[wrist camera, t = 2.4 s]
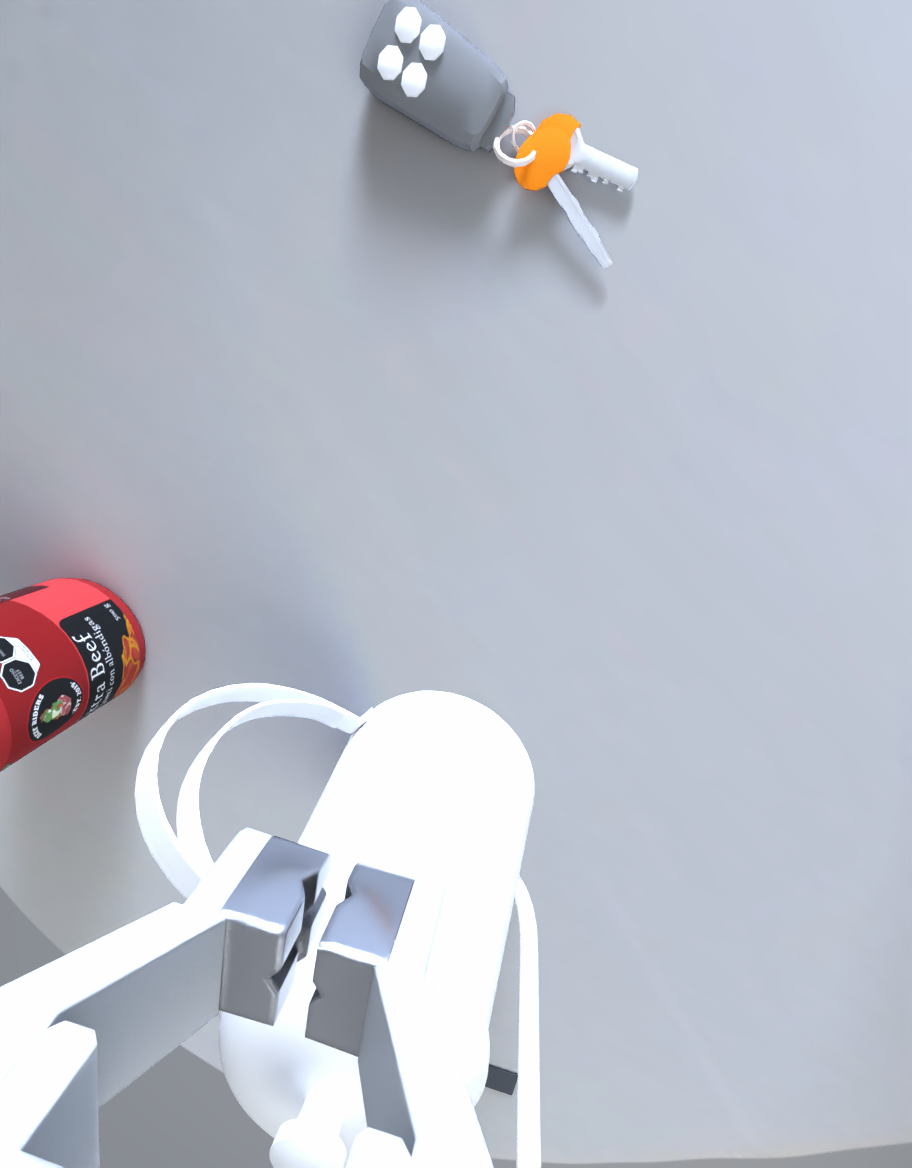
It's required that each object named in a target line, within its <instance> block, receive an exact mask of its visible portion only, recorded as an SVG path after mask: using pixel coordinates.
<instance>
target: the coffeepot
mask: <svg viewBox="0 0 912 1168" xmlns="http://www.w3.org/2000/svg"><path fill="white" fill-rule="evenodd" d="M234 701H254V702H262V703H259V704H257V705H254V706H252V707H249V708H248V709H246V710H244V711H243V712H241V713H239V714H238V715H236V716H235V717H234V718H233V719H231V720H230V721H229V722H228V723H227V724H226V725H225V726H224V727H223V728H222V729H221V730H220V731H219V732H218V733H217V734H216V735H215V736H214V737H213V738H212V739H211V740H210V741H209V742H208V743H207V745H206V746H205V747H204V748H203V749H202V750H201V752H200V753H199V754H198V755H197V757H196V759H195V760H194V762H193V763H192V765H191V767H190V768H189V770H188V772H187V774H186V777H185V779H184V782H183V784H182V786H181V790H180V794H179V799H178V804H177V821H176V824H177V835H178V840H177V838H176V837H175V835H174V833H173V831H172V829H171V827H170V825H169V823H168V821H167V819H166V817H165V814H164V810H163V807H162V804H161V801H160V798H159V790H158V782H157V766H158V757H159V751H160V748H161V746H162V743H163V740H164V738H165V735H166V732H167V731H168V730H169V728H170V727H171V725H173V724H174V723H175V722H176V721H178V720H179V719H180V718H182V717H184V716H186V715H188V714H190V713H192V712H194V711H196V710H198V709H201V708H204V707H208V706H211V705H215V704H219V703H227V702H234ZM271 716H292V717H303V718H309V719H314V720H317V721H319V722H321V723H323V724H325V725H327V726H329V727H331V728H333V729H334V728H335V727H336V728H338V729H340V730H342V731H344V732H346V733H352V735H351V737H350V739H349V741H348V743H347V745H346V747H345V749H344V751H343V753H342V755H341V757H340V759H339V761H338V763H337V765H336V767H335V769H334V771H333V773H332V775H331V777H330V779H329V781H328V783H327V785H326V787H325V789H324V791H323V793H322V795H321V797H320V799H319V801H318V803H317V805H316V807H315V809H314V811H313V813H312V815H311V817H310V819H309V821H308V823H307V825H306V827H305V829H304V831H303V833H302V835H301V837H300V839H299V841H298V844H301V845H304V846H307V847H310V848H313V849H317V850H320V851H323V852H326V853H329V854H330V855H331V856H332V858H331V867H330V873H329V875H328V877H327V879H326V881H325V883H324V885H323V887H324V889H325V891H326V893H327V896H326V902H325V907H324V911H323V915H322V919H321V922H320V925H319V928H318V931H317V933H316V936H315V939H314V941H313V943H312V946H311V948H310V950H309V952H308V954H307V957H305V958H304V959H302V960H301V961H299V962H297V964H296V972H295V979H294V984H293V986H292V988H291V990H290V993H289V995H288V997H287V999H286V1001H285V1003H284V1005H283V1007H282V1009H281V1011H280V1013H279V1015H278V1018H277V1020H276V1022H275V1024H274V1026H270V1025H267V1024H263V1023H260V1022H257V1021H253V1020H250V1019H247V1018H243V1017H240V1016H237V1015H233V1014H230V1013H227V1012H223V1011H220V1010H219V1017H220V1030H219V1050H220V1059H221V1064H222V1068H223V1071H224V1074H225V1077H226V1079H227V1081H228V1084H229V1086H230V1088H231V1090H232V1092H233V1094H234V1095H235V1097H236V1099H237V1100H238V1102H239V1103H240V1105H241V1106H242V1108H243V1109H244V1110H245V1111H246V1113H247V1114H248V1115H249V1116H250V1117H251V1118H252V1119H253V1120H254V1121H255V1122H256V1123H257V1124H258V1125H259V1126H260V1127H261V1128H262V1129H263V1130H264V1131H266V1132H267V1133H268V1134H269V1135H271V1136H272V1137H273V1138H275V1139H274V1142H273V1144H272V1147H271V1149H270V1154H269V1155H270V1161H271V1163H272V1165H273V1167H274V1168H346V1164H347V1161H348V1158H349V1154H350V1151H351V1148H352V1144H353V1141H354V1138H355V1136H356V1135H358V1134H359V1133H360V1132H362V1131H363V1130H365V1129H366V1128H367V1123H366V1116H365V1109H364V1102H363V1095H362V1088H361V1082H360V1075H359V1068H358V1061H357V1060H358V1057H356V1056H354V1055H351V1054H348V1053H346V1052H343V1051H340V1050H338V1049H335V1048H332V1047H330V1046H327V1045H324V1044H322V1043H319V1042H316V1041H314V1040H311V1039H308V1038H306V1037H305V1031H306V1023H307V1015H308V1007H309V1003H310V1001H311V998H312V996H313V994H314V991H315V989H316V986H315V985H314V983H313V981H312V979H313V973H314V966H315V960H316V954H317V947H318V944H319V941H320V939H321V937H322V935H323V933H324V930H325V928H326V926H327V924H328V922H329V919H330V917H331V915H332V913H333V911H334V908H335V906H336V905H337V904H339V903H340V902H342V901H344V898H345V892H346V886H347V880H348V878H349V876H350V874H351V872H352V870H353V868H354V866H355V865H356V864H357V863H358V862H361V863H365V864H368V865H372V866H375V867H379V868H382V869H386V870H389V871H393V872H396V873H400V874H403V875H407V876H410V877H414V878H417V879H421V880H424V881H428V882H431V883H435V884H438V885H442V886H445V887H446V891H445V896H444V900H443V905H442V909H441V913H440V918H439V922H438V926H437V931H436V935H435V939H434V944H433V948H432V952H431V957H430V961H429V965H428V969H427V974H426V978H425V982H428V983H430V984H433V986H434V989H435V992H436V995H437V998H438V1001H439V1004H440V1007H441V1010H442V1013H443V1016H444V1019H445V1022H446V1025H447V1029H448V1032H449V1035H450V1038H451V1041H452V1044H453V1047H454V1050H455V1053H456V1056H457V1059H458V1062H459V1065H460V1068H461V1071H462V1074H463V1077H464V1080H465V1083H466V1086H467V1089H468V1092H469V1095H470V1098H471V1101H472V1104H473V1107H474V1106H475V1105H476V1104H477V1102H478V1100H479V1099H480V1097H481V1094H482V1092H483V1090H484V1087H485V1084H486V1080H487V1076H488V1065H489V1058H490V1040H489V1033H488V1028H489V1023H490V1018H491V1013H492V1008H493V1003H494V998H495V993H496V988H497V983H498V978H499V973H500V968H501V963H502V958H503V953H504V948H505V943H506V938H507V933H508V928H509V923H510V918H511V913H512V908H513V903H514V902H515V905H516V908H517V912H518V918H519V925H520V989H519V1042H518V1095H517V1168H541V1144H540V1076H539V992H538V940H537V926H536V919H535V913H534V909H533V905H532V902H531V899H530V896H529V893H528V891H527V889H526V887H525V885H524V883H523V881H522V879H521V878H520V876H519V873H520V868H521V863H522V858H523V853H524V848H525V843H526V838H527V833H528V828H529V823H530V818H531V813H532V808H533V802H534V792H535V785H534V775H533V769H532V765H531V762H530V759H529V756H528V754H527V752H526V750H525V748H524V746H523V744H522V743H521V741H520V739H519V738H518V736H517V735H516V734H515V732H514V731H513V730H512V729H511V727H510V726H509V725H508V724H507V723H506V722H505V721H504V720H503V719H502V718H500V717H499V716H498V715H497V714H495V713H494V712H493V711H491V710H490V709H488V708H487V707H485V706H483V705H482V704H480V703H478V702H476V701H474V700H471V699H469V698H466V697H463V696H460V695H457V694H452V693H447V692H440V691H418V692H411V693H407V694H403V695H400V696H397V697H394V698H392V699H389V700H387V701H385V702H383V703H382V704H380V705H378V706H377V707H376V708H374V709H372V708H370V709H369V710H368V711H367V712H366V713H365V714H364V715H362V716H361V717H358V716H356V715H354V714H352V713H351V712H349V711H347V710H345V709H343V708H341V707H339V706H337V705H335V704H333V703H331V702H329V701H327V700H325V699H323V698H320V697H318V696H315V695H312V694H310V693H307V692H303V691H300V690H296V689H292V688H288V687H284V686H279V685H272V684H263V683H245V684H235V685H229V686H225V687H221V688H217V689H213V690H210V691H208V692H206V693H204V694H202V695H199V696H197V697H195V698H193V699H192V700H190V701H189V702H188V703H186V704H185V705H184V706H182V707H181V708H180V709H179V710H177V711H176V712H175V713H174V714H173V715H172V716H171V717H170V718H169V719H168V721H167V722H166V723H165V724H164V725H163V726H162V727H161V728H160V729H159V731H158V732H157V733H156V735H155V736H154V738H153V739H152V740H151V742H150V743H149V744H148V746H147V747H146V749H145V752H144V754H143V757H142V759H141V762H140V764H139V767H138V770H137V777H136V785H135V803H136V814H137V818H138V822H139V825H140V829H141V832H142V836H143V838H144V840H145V842H146V844H147V846H148V848H149V850H150V852H151V854H152V856H153V858H154V860H155V861H156V863H157V864H158V865H159V867H160V868H161V870H162V871H163V873H164V874H165V875H166V877H167V878H168V879H169V881H170V882H171V883H172V884H173V885H174V886H175V888H176V889H177V890H178V891H179V892H180V893H181V895H182V896H184V897H185V898H186V899H187V898H188V897H189V896H190V894H191V893H192V892H193V890H194V889H195V888H196V887H197V885H198V884H199V883H200V881H201V880H202V879H203V878H204V876H205V875H206V874H207V872H208V871H209V870H210V869H211V867H212V866H213V865H214V863H213V861H212V859H211V857H210V854H209V851H208V849H207V846H206V843H205V840H204V836H203V832H202V828H201V823H200V814H199V786H200V780H201V775H202V771H203V768H204V766H205V763H206V761H207V758H208V756H209V754H210V753H211V751H212V749H213V748H214V746H215V744H216V742H217V741H218V740H219V739H220V737H221V736H222V735H223V734H224V733H226V732H227V731H229V730H231V729H232V728H234V727H235V726H237V725H239V724H242V723H244V722H246V721H249V720H252V719H257V718H261V717H271ZM415 880H416V879H415Z"/></svg>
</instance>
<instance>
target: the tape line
mask: <svg viewBox="0 0 912 1168" xmlns="http://www.w3.org/2000/svg"><path fill="white" fill-rule="evenodd" d="M517 1078H518V1075H517V1074H514V1073H511V1072H508V1071H505V1070H502V1069H499V1068H496V1067H493V1066H490V1065H488V1076H487V1080H486V1084H485V1087H488V1088H491V1089H494V1090H497V1091H500V1092H503V1093H506V1094H509V1095H512V1093H513V1090H514V1087H515V1084H516V1081H517Z"/></svg>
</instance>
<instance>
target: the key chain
mask: <svg viewBox="0 0 912 1168" xmlns="http://www.w3.org/2000/svg"><path fill="white" fill-rule="evenodd" d="M360 78H361V80H362V81H363V83H364V85H365V86H366V87H367V88H368V89H369V90H370V91H371V92H372V93H373V94H374V95H375V97H376V98H378V99H380V100H381V101H383V102H385V103H386V104H388V105H389V106H391V107H393V108H394V109H396V110H398V111H399V112H401V113H402V114H404V115H406V116H407V117H409V118H411V119H412V120H414V121H415V122H417V123H419V124H420V125H422V126H424V127H425V128H427V129H429V130H430V131H432V132H434V133H436V134H437V135H439V136H441V137H442V138H444V139H446V140H447V141H449V142H451V143H452V144H454V145H456V146H457V147H460V148H463V149H466V150H469V151H471V152H473V151H475V150H476V149H478V148H480V147H481V148H482V149H484V150H485V151H487V152H488V151H490V150H491V149H492V148H493V150H494V152H495V154H496V156H497V158H498V159H499V160H500V161H501V162H503V163H504V164H505V165H508V166H511V167H515V168H514V173H515V176H516V179H517V182H518V183H519V184H520V185H521V186H522V187H523V188H524V189H527V190H532V191H536V190H539V189H542V188H545V187H546V185H547V186H548V188H549V189H550V191H551V192H552V194H553V196H554V197H555V199H556V200H557V202H558V203H559V205H560V207H563V209H564V210H565V212H566V213H567V215H568V219H569V221H570V222H571V224H572V226H573V227H574V229H575V230H576V232H577V233H578V235H579V237H580V236H581V237H582V239H583V240H584V242H585V243H586V245H587V247H588V248H589V249H590V251H591V252H592V253H593V255H594V256H595V258H596V259H597V260H598V262H599V263H600V264H601V266H602V267H603V268H604V270H605V269H606V268H607V267H608V266H610V265H611V264H612V262H611V260H610V258H609V256H608V254H607V252H606V250H605V249H604V247H603V245H602V243H601V241H600V239H599V238H600V236H599V235H598V233H597V231H596V230H595V228H594V227H593V225H592V226H591V225H590V223H589V221H588V220H587V218H586V217H585V215H584V213H583V212H582V210H581V209H580V208H581V206H580V204H579V203H578V201H577V199H576V198H575V196H572V194H571V193H570V191H569V189H568V188H567V186H566V185H565V183H564V181H563V180H562V178H561V177H560V173H561V172H562V171H564V170H566V169H568V168H570V167H572V166H573V168H572V170H571V172H572V173H574V174H576V173H577V172H579V173H581V174H582V173H583V171H584V170H586V171H588V172H589V173H588V175H587V177H590V178H592V179H591V181H592V182H594V183H596V182H597V180H598V178H599V177H601V178H603V182H602V184H605V185H607V184H608V182H611V183H613V184H616V185H618V188H617V191H620V192H622V191H623V189H626V190H628V191H629V190H630V189H631V188H632V187H633V185H634V184H635V183H636V182H637V177H638V171H639V169H637V168H635V167H633V166H630V165H628V164H626V163H624V162H622V161H620V160H618V159H615V158H613V157H611V156H609V155H607V154H605V153H603V152H600V151H598V150H596V149H594V148H592V147H590V146H588V145H585V144H583V139H582V136H581V132H580V129H579V128H580V127H581V124H580V123H578V122H577V121H576V120H575V119H574V118H573V117H572V116H571V115H565V114H555V115H553V116H551V117H549V118H547V119H545V120H543V121H542V123H541V124H540V126H539V127H538V128H537V130H535V127H534V126H533V125H532V123H531V122H528V121H526V120H525V121H520V122H519V123H518V124H516V125H513V126H508V125H509V123H510V121H511V119H512V118H513V116H514V112H515V97H514V96H513V95H512V94H510V93H509V92H508V84H507V78H506V77H505V76H504V75H503V73H502V72H501V71H500V70H499V69H498V67H497V66H496V65H495V64H494V63H493V62H492V61H491V60H490V59H489V58H487V57H486V56H485V55H484V54H483V53H481V52H480V51H479V50H478V49H477V48H476V47H474V46H473V45H472V44H471V43H470V42H469V41H467V40H466V39H465V38H464V37H463V36H461V35H460V34H459V33H458V32H457V31H456V30H454V29H453V28H452V27H451V26H450V25H448V24H447V23H446V22H445V21H444V20H442V19H441V18H440V17H439V16H438V15H436V14H435V13H434V12H433V11H432V10H430V9H429V8H428V7H427V6H425V5H424V4H423V3H422V2H421V1H419V0H388V1H387V3H386V4H385V5H384V7H383V9H382V11H381V13H380V15H379V17H378V19H377V21H376V23H375V25H374V27H373V30H372V32H371V35H370V37H369V39H368V42H367V44H366V47H365V49H364V52H363V55H362V59H361V63H360ZM524 125H526V126H528V127H529V128H530V129H531V130H532V131H530V130H529V129H528V128H526V127H523V126H524ZM515 133H517V134H521V135H524V136H525V137H527V139H526V141H525V142H524V143H523V144H522V146H521V147H520V148H519V147H518V146H517V144H516V142H515ZM508 134H512V136H511V141H512V145H513V147H514V149H515V150H516V151H517V152H518V154H517V156H516V159H513V158H509V157H507V156H506V155H505V154H503V153H502V152H501V150H500V141H501V139H502V138H503V137H505V136H506V135H508Z"/></svg>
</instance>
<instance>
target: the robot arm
mask: <svg viewBox="0 0 912 1168" xmlns="http://www.w3.org/2000/svg"><path fill="white" fill-rule="evenodd" d="M331 858H332V856H331V855H330V854H329V853H326V852H323V851H320V850H317V849H313V848H310V847H307V846H304V845H301V844H298V843H295V842H292V841H289V840H286V839H283V838H280V837H277V836H272V835H269V834H266V833H263V832H260V831H257V830H254V829H250V828H247V827H246V828H245V829H243V830H242V831H241V832H239V833H238V834H237V835H236V836H235V838H234V839H233V840H232V842H231V843H230V844H229V845H228V847H227V848H226V849H225V851H224V852H223V853H222V854H221V856H220V857H219V858H218V860H217V861H216V862H215V863H214V865H213V866H212V867H211V869H210V870H209V871H208V872H207V874H206V875H205V876H204V878H203V879H202V880H201V881H200V883H199V884H198V885H197V887H196V888H195V889H194V890H193V892H192V893H191V894H190V896H189V897H188V898H187V900H186V901H185V902H184V903H183V904H179V903H176V902H173V903H171V904H169V905H167V906H165V907H163V908H160V909H158V910H156V911H154V912H152V913H150V914H148V915H146V916H144V917H142V918H140V919H138V920H136V921H134V922H132V923H130V924H128V925H126V926H124V927H122V928H120V929H118V930H116V931H114V932H112V933H110V934H107V935H105V936H103V937H101V938H99V939H97V940H95V941H93V942H91V943H89V944H87V945H85V946H83V947H81V948H79V949H77V950H75V951H73V952H71V953H69V954H67V955H65V956H63V957H61V958H59V959H57V960H54V961H52V962H50V963H48V964H46V965H44V966H42V967H40V968H38V969H36V970H34V971H32V972H30V973H28V974H26V975H24V976H22V977H20V978H18V979H16V980H14V981H12V982H10V983H8V984H6V985H4V986H2V987H0V1168H99V1122H98V1121H99V1119H98V1108H100V1107H101V1106H102V1105H103V1104H105V1103H106V1102H107V1101H109V1100H110V1099H111V1098H112V1097H114V1096H115V1095H116V1094H118V1093H119V1092H120V1091H121V1090H123V1089H124V1088H125V1087H126V1086H128V1085H129V1084H130V1083H132V1082H133V1081H134V1080H135V1079H137V1078H138V1077H139V1076H140V1075H142V1074H143V1073H144V1072H145V1071H147V1070H148V1069H149V1068H150V1067H152V1066H153V1065H154V1064H156V1063H157V1062H158V1061H159V1060H161V1059H162V1058H163V1057H165V1056H166V1055H167V1054H168V1053H170V1052H171V1051H172V1050H173V1049H175V1048H176V1047H177V1046H179V1045H180V1044H181V1043H183V1042H184V1041H185V1040H186V1039H188V1038H189V1037H190V1036H191V1035H193V1034H194V1033H195V1032H197V1031H198V1030H199V1029H200V1028H202V1027H203V1026H204V1025H205V1024H207V1023H208V1022H209V1021H211V1020H212V1019H213V1018H214V1017H216V1016H217V1015H218V1012H219V1010H220V1011H223V1012H227V1013H230V1014H233V1015H237V1016H240V1017H243V1018H247V1019H250V1020H253V1021H257V1022H260V1023H263V1024H267V1025H270V1026H274V1024H275V1022H276V1020H277V1018H278V1015H279V1013H280V1011H281V1009H282V1007H283V1005H284V1003H285V1001H286V999H287V997H288V995H289V993H290V990H291V988H292V986H293V984H294V979H295V972H296V964H297V962H299V961H301V960H302V959H304V958H305V957H307V954H308V952H309V950H310V948H311V946H312V943H313V941H314V939H315V936H316V933H317V931H318V928H319V925H320V922H321V919H322V915H323V911H324V907H325V902H326V896H327V893H326V891H325V889H324V887H323V885H324V883H325V881H326V879H327V877H328V875H329V873H330V867H331ZM415 879H416V880H415ZM445 891H446V887H445V886H442V885H438V884H435V883H431V882H428V881H424V880H421V879H417V878H414V877H410V876H407V875H403V874H400V873H396V872H393V871H389V870H386V869H382V868H379V867H375V866H372V865H368V864H365V863H361V862H358V863H357V864H356V865H355V866H354V868H353V870H352V872H351V874H350V876H349V878H348V880H347V886H346V892H345V898H344V901H342V902H340V903H339V904H337V905H336V906H335V908H334V911H333V913H332V915H331V917H330V919H329V922H328V924H327V926H326V928H325V930H324V933H323V935H322V937H321V939H320V941H319V944H318V947H317V954H316V960H315V966H314V973H313V979H312V981H313V983H314V985H315V986H316V989H315V991H314V994H313V996H312V998H311V1001H310V1003H309V1007H308V1015H307V1023H306V1031H305V1037H306V1038H308V1039H311V1040H314V1041H316V1042H319V1043H322V1044H324V1045H327V1046H330V1047H332V1048H335V1049H338V1050H340V1051H343V1052H346V1053H348V1054H351V1055H354V1056H356V1057H358V1060H357V1061H358V1068H359V1075H360V1082H361V1088H362V1095H363V1102H364V1109H365V1116H366V1123H367V1128H366V1129H365V1130H363V1131H362V1132H360V1133H359V1134H358V1135H356V1136H355V1138H354V1141H353V1144H352V1148H351V1151H350V1154H349V1158H348V1161H347V1164H346V1168H494V1167H493V1164H492V1161H491V1158H490V1155H489V1152H488V1149H487V1146H486V1143H485V1140H484V1137H483V1134H482V1131H481V1128H480V1125H479V1122H478V1119H477V1116H476V1113H475V1110H474V1107H473V1104H472V1101H471V1098H470V1095H469V1092H468V1089H467V1086H466V1083H465V1080H464V1077H463V1074H462V1071H461V1068H460V1065H459V1062H458V1059H457V1056H456V1053H455V1050H454V1047H453V1044H452V1041H451V1038H450V1035H449V1032H448V1029H447V1025H446V1022H445V1019H444V1016H443V1013H442V1010H441V1007H440V1004H439V1001H438V998H437V995H436V992H435V989H434V986H433V984H430V983H428V982H425V978H426V974H427V969H428V965H429V961H430V957H431V952H432V948H433V944H434V939H435V935H436V931H437V926H438V922H439V918H440V913H441V909H442V905H443V900H444V896H445Z"/></svg>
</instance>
